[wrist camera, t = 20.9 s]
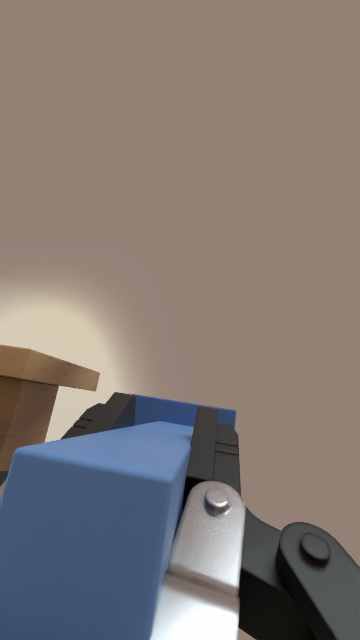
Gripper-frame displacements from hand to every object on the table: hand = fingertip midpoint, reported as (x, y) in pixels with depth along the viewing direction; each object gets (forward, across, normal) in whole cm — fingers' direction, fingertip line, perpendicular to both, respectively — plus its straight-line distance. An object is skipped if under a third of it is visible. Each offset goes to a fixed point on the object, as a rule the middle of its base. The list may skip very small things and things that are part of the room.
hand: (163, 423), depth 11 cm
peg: (+1, 0, +3) cm, 3 cm away
